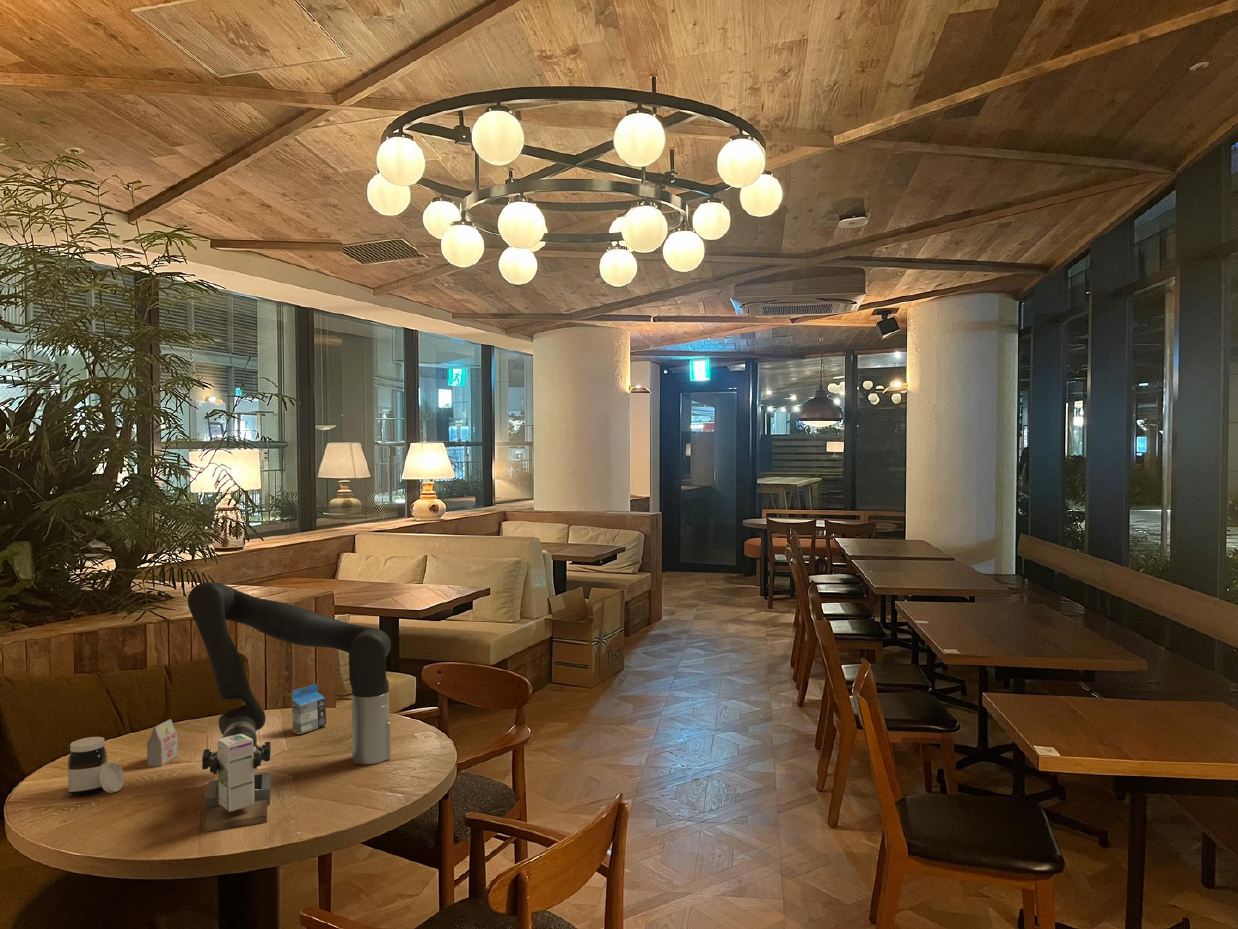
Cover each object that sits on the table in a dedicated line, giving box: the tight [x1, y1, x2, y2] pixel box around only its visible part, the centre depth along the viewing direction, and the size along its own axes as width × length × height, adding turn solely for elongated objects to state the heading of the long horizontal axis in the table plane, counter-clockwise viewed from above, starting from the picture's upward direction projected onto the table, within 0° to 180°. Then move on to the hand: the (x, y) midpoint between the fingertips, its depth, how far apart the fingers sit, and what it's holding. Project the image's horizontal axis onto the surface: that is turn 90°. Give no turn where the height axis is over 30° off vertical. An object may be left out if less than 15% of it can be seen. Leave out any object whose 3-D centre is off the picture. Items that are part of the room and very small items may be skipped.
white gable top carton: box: [146, 719, 179, 768], centre depth 211 cm, size 4×7×10 cm, turn 175°
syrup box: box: [217, 734, 255, 812], centre depth 177 cm, size 6×6×14 cm
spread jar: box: [67, 736, 125, 797], centre depth 193 cm, size 12×11×12 cm
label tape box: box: [291, 683, 327, 735], centre depth 235 cm, size 9×4×12 cm, turn 149°
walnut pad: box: [203, 799, 268, 833], centre depth 177 cm, size 12×9×2 cm
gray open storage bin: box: [204, 771, 271, 815], centre depth 187 cm, size 13×11×4 cm
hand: (235, 767), depth 175 cm, fingers closed on syrup box, 7 cm apart
